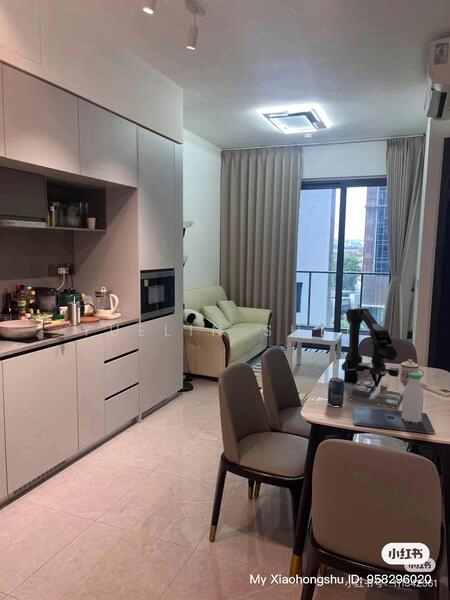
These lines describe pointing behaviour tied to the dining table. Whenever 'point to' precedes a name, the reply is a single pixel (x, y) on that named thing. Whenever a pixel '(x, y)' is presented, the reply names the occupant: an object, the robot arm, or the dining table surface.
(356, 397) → the control panel
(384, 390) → the upright wooden block
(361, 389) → the button grey
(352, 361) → the robot arm
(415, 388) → the milk bottle
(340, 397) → the soda can
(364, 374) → the bowl
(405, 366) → the teacup with lid
